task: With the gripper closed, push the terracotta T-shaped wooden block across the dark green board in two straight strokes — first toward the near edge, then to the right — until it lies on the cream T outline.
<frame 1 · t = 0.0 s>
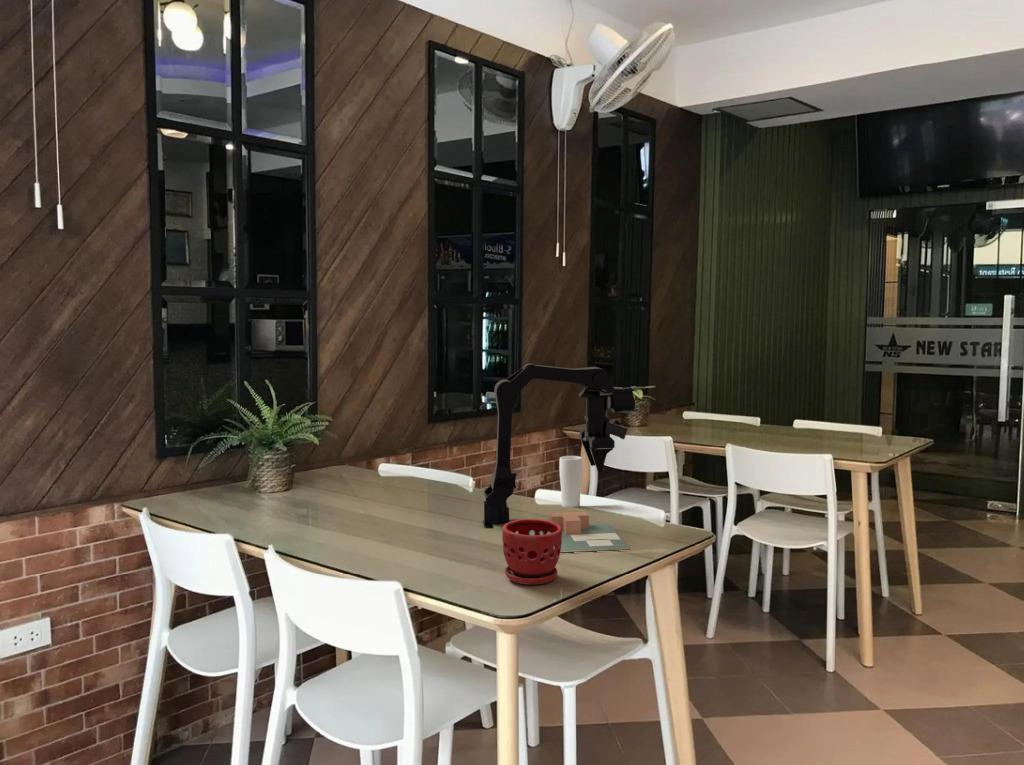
hand: (596, 468, 235), 15 cm above the table, tool pointing down, fingers open, 9 cm apart
plant pot: (532, 579, 187), on the table
tee: (568, 527, 227), point 1 cm above the table, touching board
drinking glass: (570, 508, 252), on the table
board: (574, 539, 218), on the table
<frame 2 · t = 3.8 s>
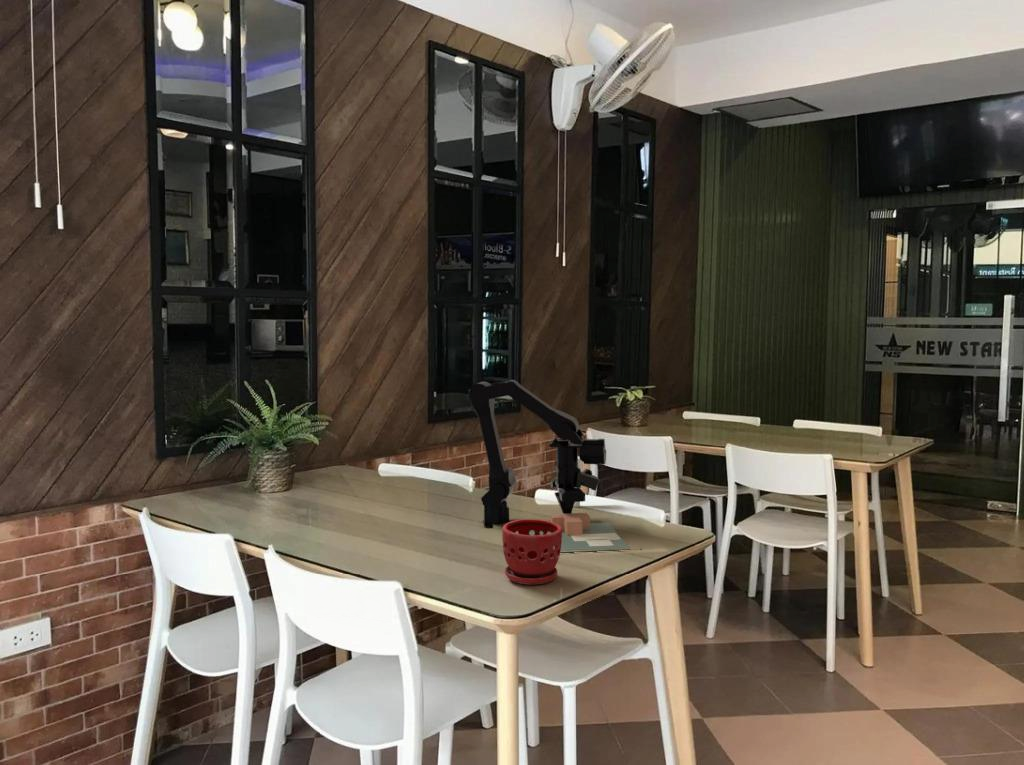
hand: (567, 520, 229), 2 cm above the table, tool pointing down, fingers closed
tee: (569, 528, 226), point 1 cm above the table, touching gripper
everything else where it was.
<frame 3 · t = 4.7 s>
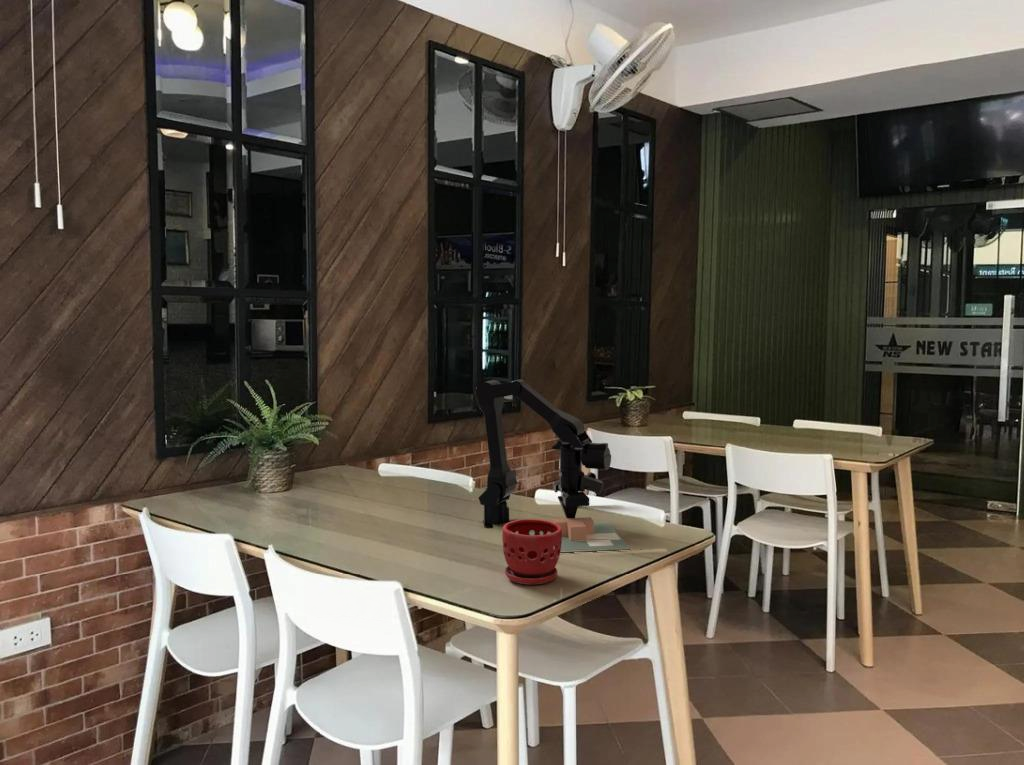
hand: (570, 524, 224), 2 cm above the table, tool pointing down, fingers closed
tee: (573, 533, 221), point 1 cm above the table, touching board, gripper
everything else where it was.
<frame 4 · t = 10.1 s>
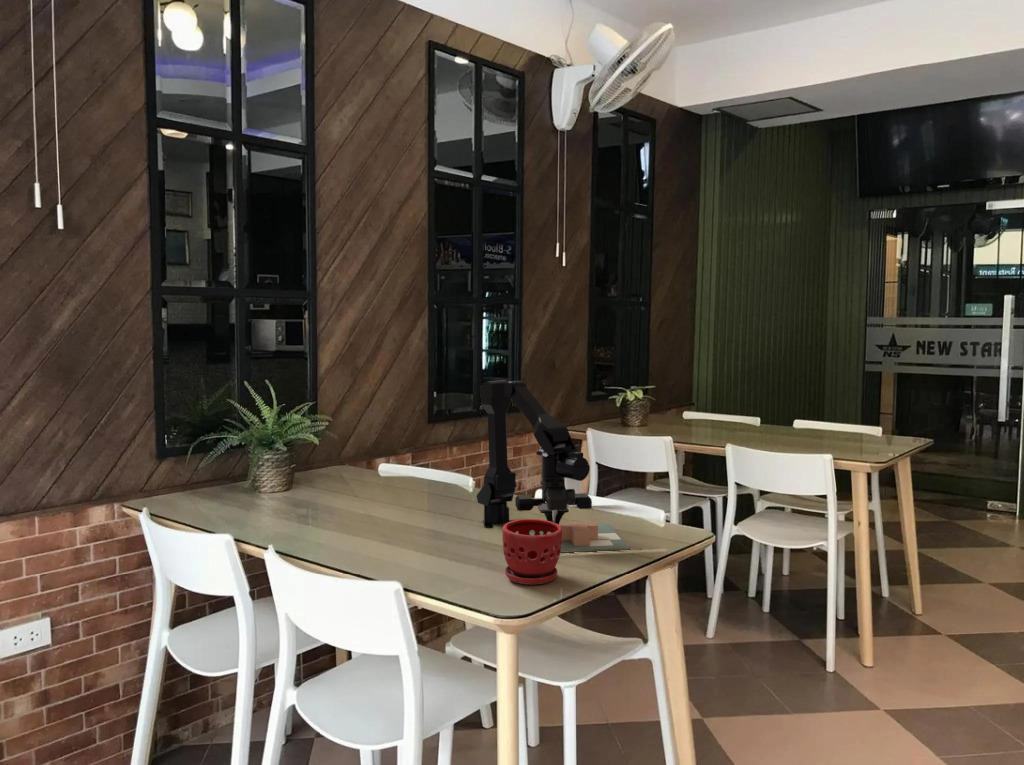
hand: (553, 535, 214), 2 cm above the table, tool pointing down, fingers closed
tee: (577, 537, 217), point 1 cm above the table, touching gripper
everything else where it was.
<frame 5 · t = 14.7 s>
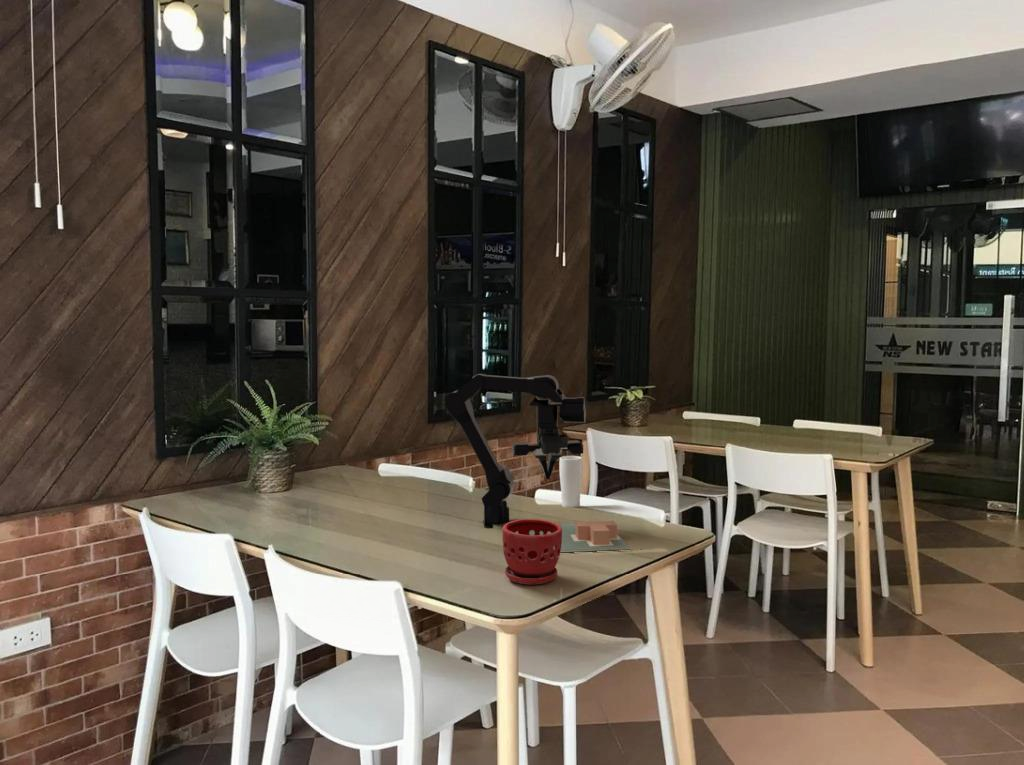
hand: (547, 479, 230), 13 cm above the table, tool pointing down, fingers closed
tee: (596, 536, 217), point 1 cm above the table, touching board
everything else where it was.
at the end: tee 0.2 cm from the target spot, point 0.8 cm above the table; tee tilted 0°; the gripper is holding nothing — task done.
